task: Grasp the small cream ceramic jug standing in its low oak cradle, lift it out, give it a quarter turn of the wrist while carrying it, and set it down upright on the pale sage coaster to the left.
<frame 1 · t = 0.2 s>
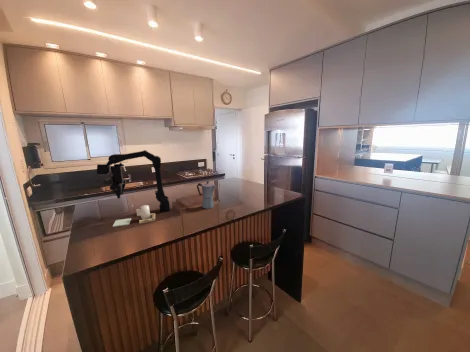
hand: (120, 196, 135), 14 cm above the table, fingers open, 9 cm apart
sage coaster: (122, 222, 127), on the table
cream jug: (143, 213, 131), in the oak cradle
moka pot: (207, 207, 152), on the table
oak cradle: (146, 219, 132), on the table
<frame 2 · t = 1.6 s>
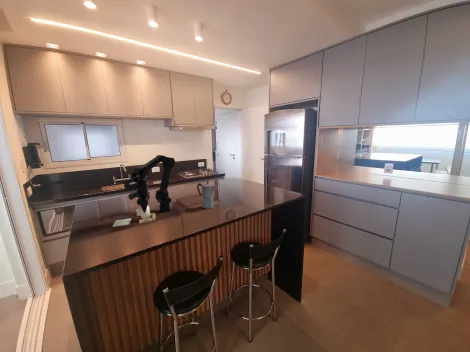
hand: (145, 210, 131), 6 cm above the table, fingers open, 9 cm apart
nothing on the table moved.
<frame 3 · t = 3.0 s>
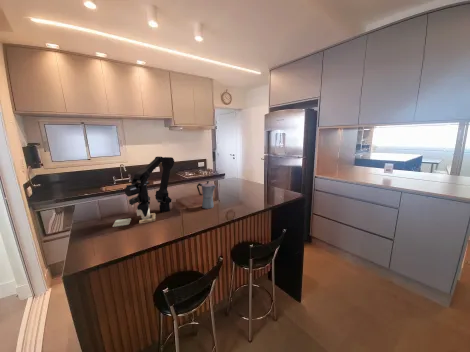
hand: (145, 214, 131), 3 cm above the table, fingers closed on cream jug, 5 cm apart
cream jug: (143, 213, 131), in the oak cradle, touching gripper
everything else where it was.
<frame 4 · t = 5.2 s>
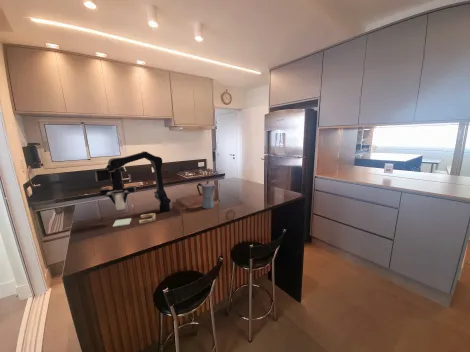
hand: (120, 203, 125), 13 cm above the table, fingers closed on cream jug, 5 cm apart
cream jug: (120, 200, 126), point 14 cm above the table, touching gripper
everything else where it was.
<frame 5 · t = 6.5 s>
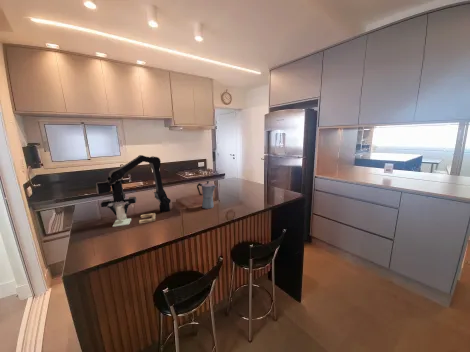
hand: (121, 214, 126), 6 cm above the table, fingers closed on cream jug, 5 cm apart
cream jug: (121, 211, 127), point 7 cm above the table, touching gripper
everything else where it was.
when the fingers open (4 cm above the table, at t = 7.6 s): cream jug stays where it is, resting on sage coaster.
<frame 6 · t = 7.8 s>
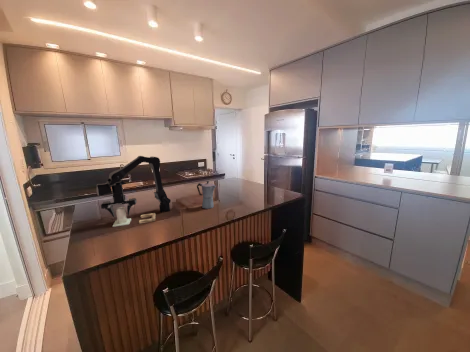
hand: (121, 216, 127), 4 cm above the table, fingers open, 8 cm apart
cream jug: (121, 214, 127), on the sage coaster, point 5 cm above the table
everything else where it was.
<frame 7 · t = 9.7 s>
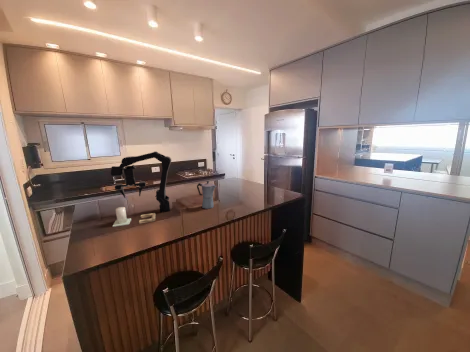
hand: (132, 197, 140), 12 cm above the table, fingers open, 9 cm apart
nothing on the table moved.
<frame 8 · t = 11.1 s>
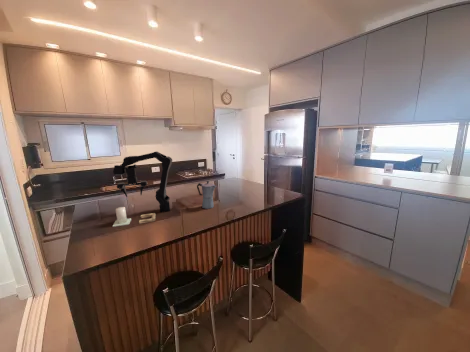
hand: (134, 196, 143), 12 cm above the table, fingers open, 9 cm apart
nothing on the table moved.
at the end: cream jug inside the target area (0.1 cm from its centre), point 5.1 cm above the table; cream jug tilted 1°; the gripper is holding nothing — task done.
